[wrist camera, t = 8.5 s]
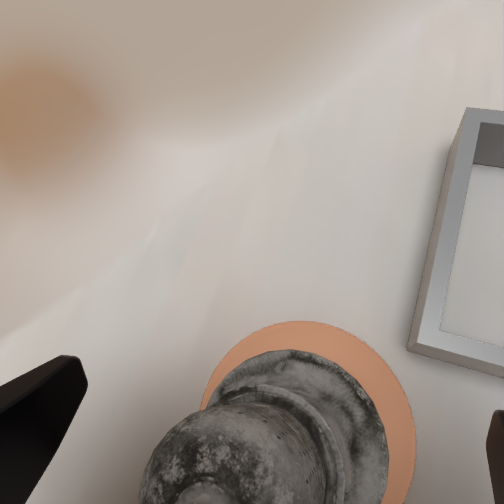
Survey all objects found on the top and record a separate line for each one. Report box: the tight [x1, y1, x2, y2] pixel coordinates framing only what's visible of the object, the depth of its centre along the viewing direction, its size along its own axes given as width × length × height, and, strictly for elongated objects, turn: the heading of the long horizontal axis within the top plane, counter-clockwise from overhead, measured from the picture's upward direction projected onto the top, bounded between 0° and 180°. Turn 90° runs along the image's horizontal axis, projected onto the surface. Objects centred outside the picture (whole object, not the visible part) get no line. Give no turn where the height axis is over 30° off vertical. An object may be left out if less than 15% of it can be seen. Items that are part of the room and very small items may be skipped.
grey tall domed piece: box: [139, 349, 390, 504], centre depth 10 cm, size 6×6×12 cm
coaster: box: [200, 321, 416, 504], centre depth 16 cm, size 8×8×1 cm
